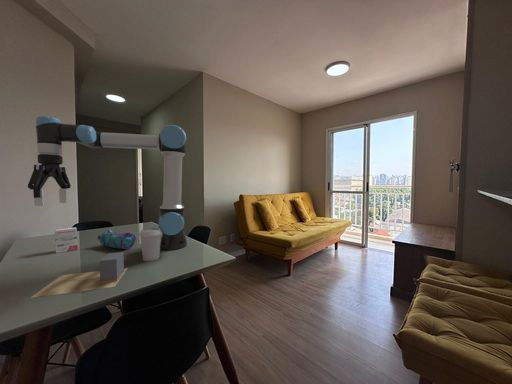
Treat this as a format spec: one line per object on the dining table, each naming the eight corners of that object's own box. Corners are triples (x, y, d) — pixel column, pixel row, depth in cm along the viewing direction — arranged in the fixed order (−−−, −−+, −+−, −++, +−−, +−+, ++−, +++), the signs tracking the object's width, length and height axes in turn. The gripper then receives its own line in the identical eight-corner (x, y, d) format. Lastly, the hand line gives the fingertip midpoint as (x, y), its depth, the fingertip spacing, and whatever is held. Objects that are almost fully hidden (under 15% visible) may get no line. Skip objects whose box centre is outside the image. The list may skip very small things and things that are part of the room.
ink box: (77, 247, 114) (76, 226, 114) (77, 249, 111) (76, 228, 110) (56, 251, 109) (55, 229, 108) (55, 253, 105) (54, 230, 104)
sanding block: (109, 273, 78) (108, 253, 78) (124, 272, 80) (123, 251, 79) (100, 283, 71) (99, 260, 70) (117, 281, 72) (116, 259, 72)
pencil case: (97, 247, 115) (97, 230, 115) (113, 243, 123) (113, 227, 123) (121, 252, 107) (121, 234, 107) (137, 247, 115) (137, 230, 115)
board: (128, 271, 84) (128, 267, 84) (114, 291, 68) (114, 286, 68) (61, 279, 77) (61, 275, 77) (30, 302, 62) (30, 297, 62)
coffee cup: (163, 263, 93) (163, 230, 92) (139, 267, 88) (138, 232, 87) (161, 256, 101) (161, 226, 100) (139, 259, 96) (138, 228, 95)
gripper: (61, 158, 98) (62, 201, 99) (11, 149, 74) (14, 207, 75) (79, 158, 100) (80, 201, 101) (36, 150, 76) (38, 207, 77)
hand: (52, 204), depth 88 cm, fingers open, 13 cm apart
